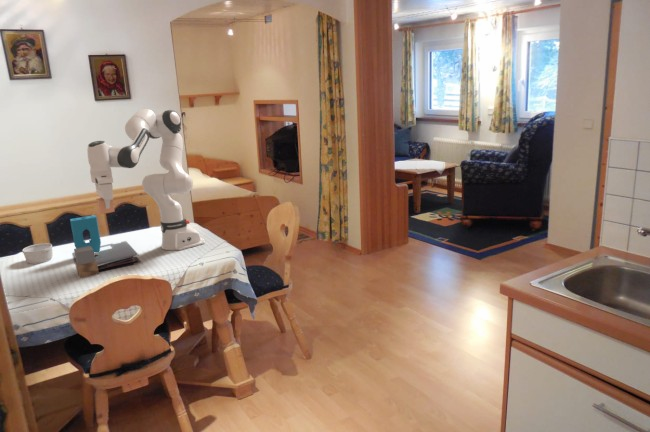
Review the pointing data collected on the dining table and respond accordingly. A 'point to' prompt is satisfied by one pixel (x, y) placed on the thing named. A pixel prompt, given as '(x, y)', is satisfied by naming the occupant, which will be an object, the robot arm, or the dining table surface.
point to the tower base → (87, 269)
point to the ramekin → (38, 253)
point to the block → (91, 226)
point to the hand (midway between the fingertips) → (106, 207)
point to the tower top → (84, 255)
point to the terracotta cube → (102, 206)
